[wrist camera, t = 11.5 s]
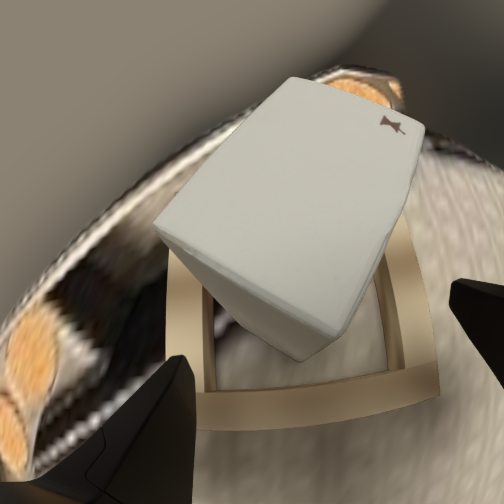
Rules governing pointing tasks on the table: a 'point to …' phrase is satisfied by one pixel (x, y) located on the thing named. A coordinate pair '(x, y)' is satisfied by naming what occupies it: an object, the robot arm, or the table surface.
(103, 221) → the table surface
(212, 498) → the table surface
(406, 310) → the wooden picture frame
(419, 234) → the table surface
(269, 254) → the skincare box
